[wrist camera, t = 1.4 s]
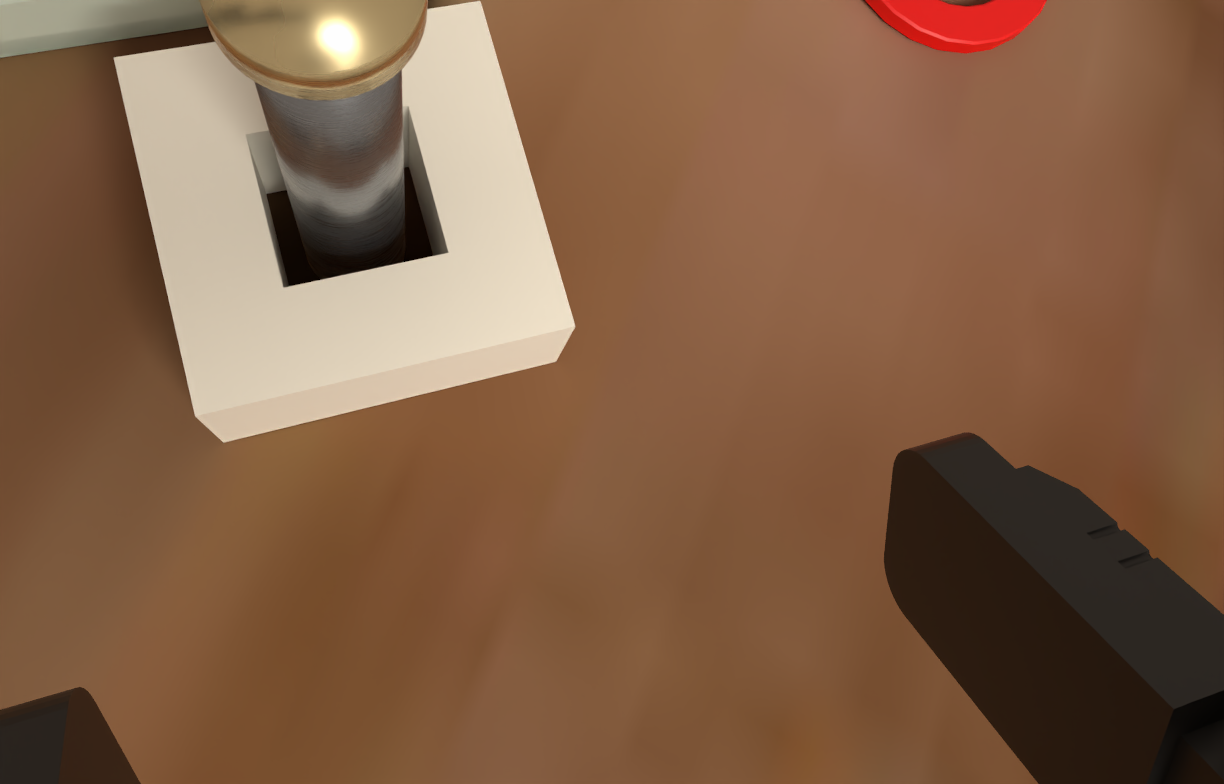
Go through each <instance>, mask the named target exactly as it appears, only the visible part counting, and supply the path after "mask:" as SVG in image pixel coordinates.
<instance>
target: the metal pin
mask: <svg viewBox="0 0 1224 784" xmlns="http://www.w3.org/2000/svg"><path fill="white" fill-rule="evenodd" d="M199 1H200V4H201V7H202V10H203V13H204V15H205V18H206V21H207V24H208V27H209V30H210V32H211V34H212V36H213V38H214V40H215V42H216V44H217V45H218V47H219V48H220V50H221V51H222V53H223V54H224V55H225V56H226V58H227V59H228V60H229V61H230V62H231V63H232V64H233V65H234V66H235V67H236V68H237V69H238V70H239V71H241V72H242V73H243V74H244V75H245V76H247V77H248V78H250V79H251V80H253V81H254V82H255V85H256V89H257V92H258V95H259V99H260V102H261V105H262V109H263V112H264V116H265V119H266V122H267V126H268V129H269V132H270V136H271V139H272V142H273V146H274V149H275V152H276V156H277V159H278V163H279V166H280V169H281V173H282V176H283V179H284V183H285V186H286V189H287V193H288V196H289V200H290V203H291V206H292V210H293V213H294V216H295V220H296V223H297V226H298V230H299V233H300V236H301V240H302V243H303V247H304V250H305V253H306V257H307V260H308V262H309V264H310V267H311V268H312V270H313V271H314V273H315V274H316V275H317V276H318V277H319V278H320V279H321V280H322V279H327V278H332V277H337V276H341V275H346V274H351V273H355V272H360V271H365V270H370V269H374V268H379V267H384V266H389V265H393V264H398V263H403V261H404V257H405V251H406V236H405V192H404V148H403V104H402V69H403V68H404V67H405V65H406V64H407V63H408V62H409V60H410V59H411V58H412V57H413V55H414V53H415V51H416V50H417V48H418V46H419V44H420V42H421V39H422V37H423V34H424V30H425V26H426V20H427V4H428V0H199Z"/></svg>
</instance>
